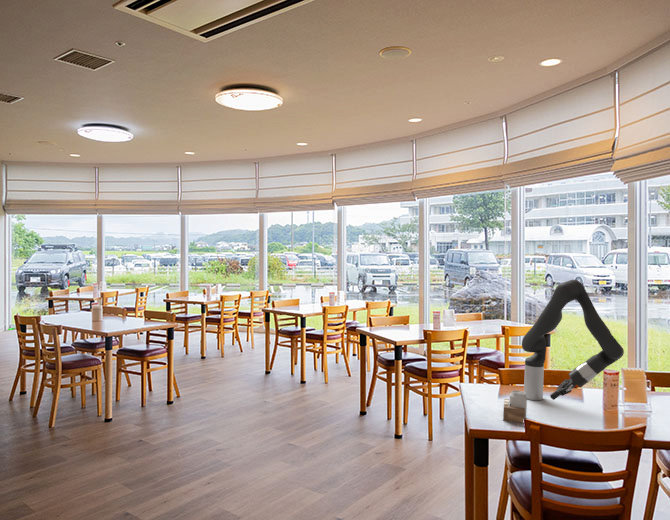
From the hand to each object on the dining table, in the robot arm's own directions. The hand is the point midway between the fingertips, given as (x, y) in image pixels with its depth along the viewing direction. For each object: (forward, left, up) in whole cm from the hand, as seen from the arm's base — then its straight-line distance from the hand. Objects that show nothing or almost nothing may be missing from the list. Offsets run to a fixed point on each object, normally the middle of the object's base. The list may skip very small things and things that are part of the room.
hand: (551, 397), depth 227 cm
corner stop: (0, -16, -11) cm, 19 cm away
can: (+1, -14, -11) cm, 18 cm away
